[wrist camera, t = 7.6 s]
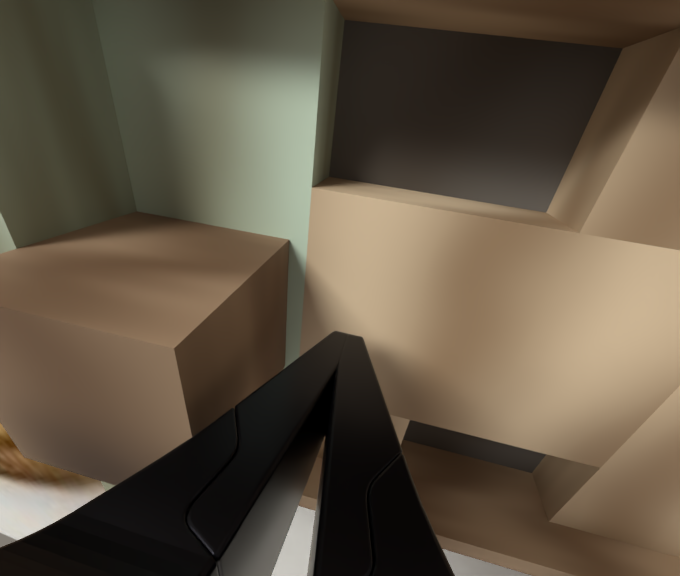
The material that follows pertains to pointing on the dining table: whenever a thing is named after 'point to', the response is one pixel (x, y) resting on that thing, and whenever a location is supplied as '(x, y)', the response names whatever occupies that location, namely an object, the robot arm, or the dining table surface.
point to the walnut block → (135, 338)
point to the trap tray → (412, 224)
